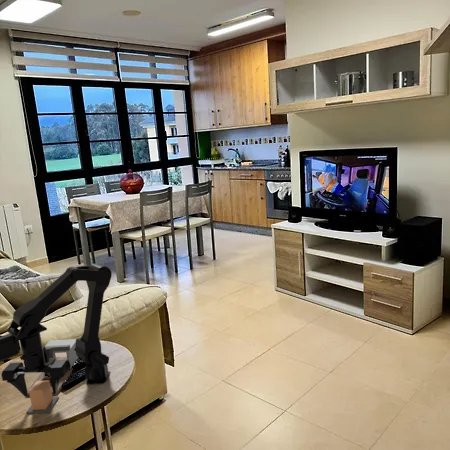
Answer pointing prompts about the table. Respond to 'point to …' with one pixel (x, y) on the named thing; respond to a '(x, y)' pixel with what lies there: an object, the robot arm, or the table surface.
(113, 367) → the table surface
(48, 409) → the mat
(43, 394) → the block
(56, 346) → the cover
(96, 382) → the robot arm
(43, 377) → the puzzle board
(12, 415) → the table surface
